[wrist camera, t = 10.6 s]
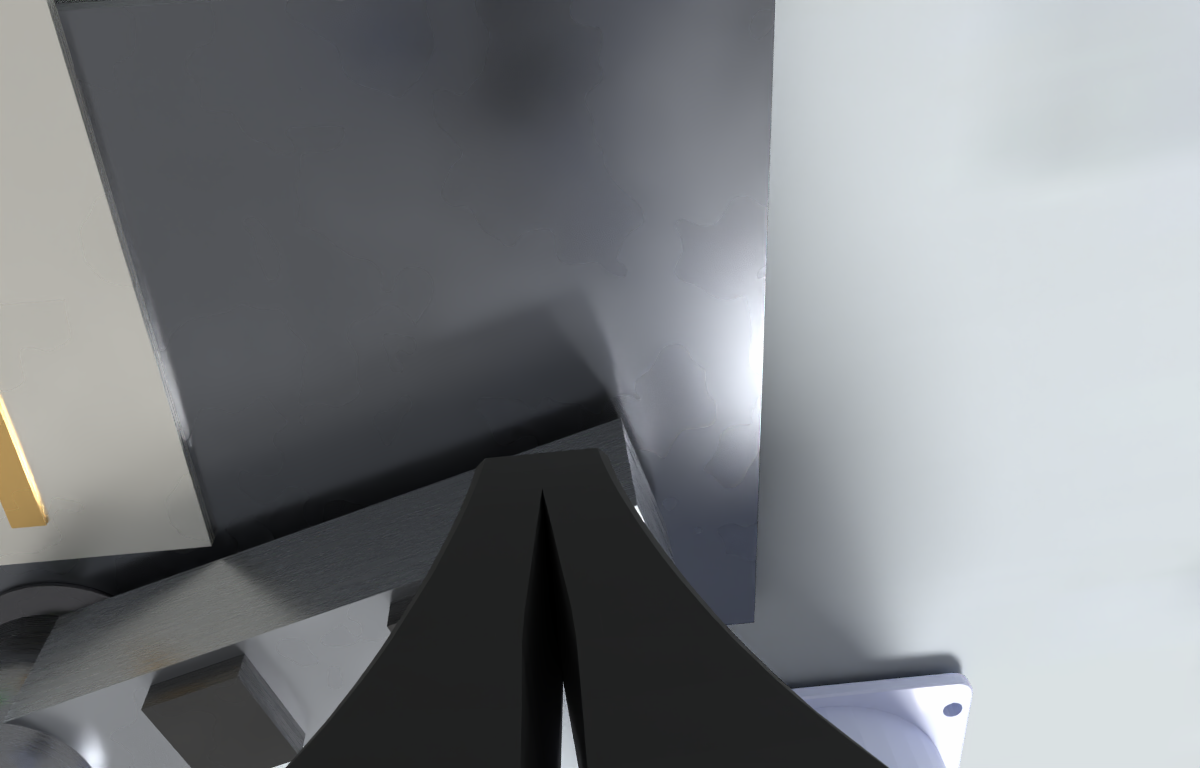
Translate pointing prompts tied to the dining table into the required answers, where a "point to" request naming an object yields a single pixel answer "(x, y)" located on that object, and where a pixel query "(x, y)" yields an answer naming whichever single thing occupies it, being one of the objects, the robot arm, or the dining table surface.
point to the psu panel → (370, 268)
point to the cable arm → (241, 638)
